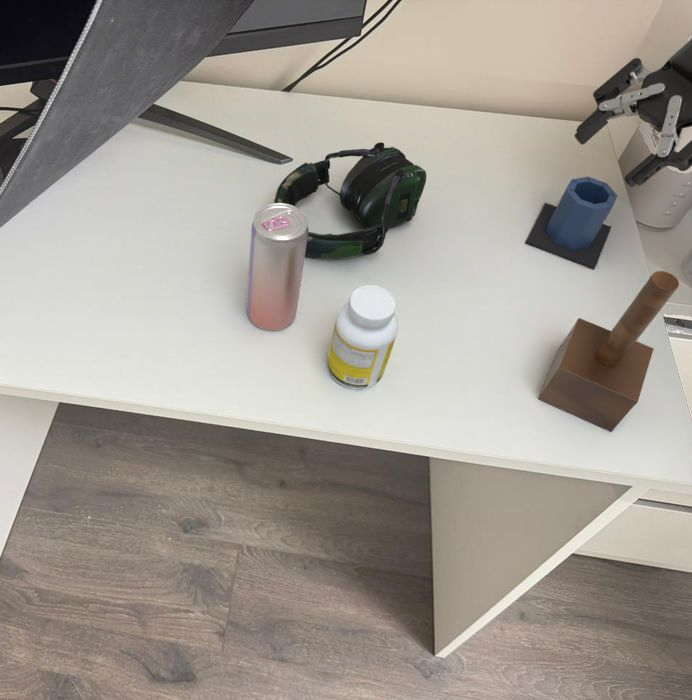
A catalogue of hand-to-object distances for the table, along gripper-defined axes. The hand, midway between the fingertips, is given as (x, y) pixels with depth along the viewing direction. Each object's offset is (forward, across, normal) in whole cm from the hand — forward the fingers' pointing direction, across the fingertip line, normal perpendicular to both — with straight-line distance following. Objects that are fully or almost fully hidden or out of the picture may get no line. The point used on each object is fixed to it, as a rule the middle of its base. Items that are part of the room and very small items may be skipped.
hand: (602, 161), depth 84 cm
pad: (+8, 0, +10) cm, 13 cm away
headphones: (+27, -13, -9) cm, 31 cm away
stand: (+19, +20, -1) cm, 28 cm away
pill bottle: (+34, +8, -16) cm, 39 cm away
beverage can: (+38, -3, -20) cm, 43 cm away
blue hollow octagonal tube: (+8, 0, +10) cm, 12 cm away
